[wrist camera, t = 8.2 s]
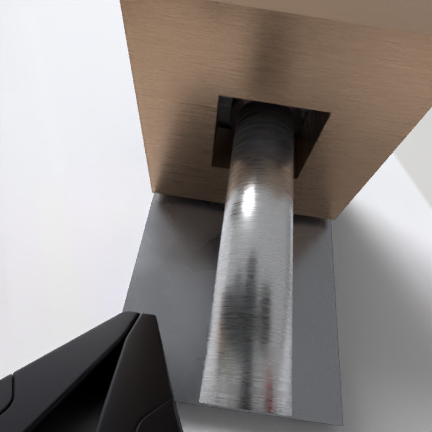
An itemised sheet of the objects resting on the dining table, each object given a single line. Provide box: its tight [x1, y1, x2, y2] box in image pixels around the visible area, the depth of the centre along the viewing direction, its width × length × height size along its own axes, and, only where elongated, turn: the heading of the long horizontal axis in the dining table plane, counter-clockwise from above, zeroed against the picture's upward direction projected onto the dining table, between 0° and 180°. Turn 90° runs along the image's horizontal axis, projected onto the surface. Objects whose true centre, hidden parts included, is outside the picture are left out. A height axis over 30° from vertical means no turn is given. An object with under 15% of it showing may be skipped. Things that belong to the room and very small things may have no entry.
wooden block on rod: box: [120, 0, 432, 220], centre depth 13 cm, size 2×10×10 cm, turn 83°
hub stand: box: [123, 96, 343, 426], centre depth 13 cm, size 14×10×11 cm
